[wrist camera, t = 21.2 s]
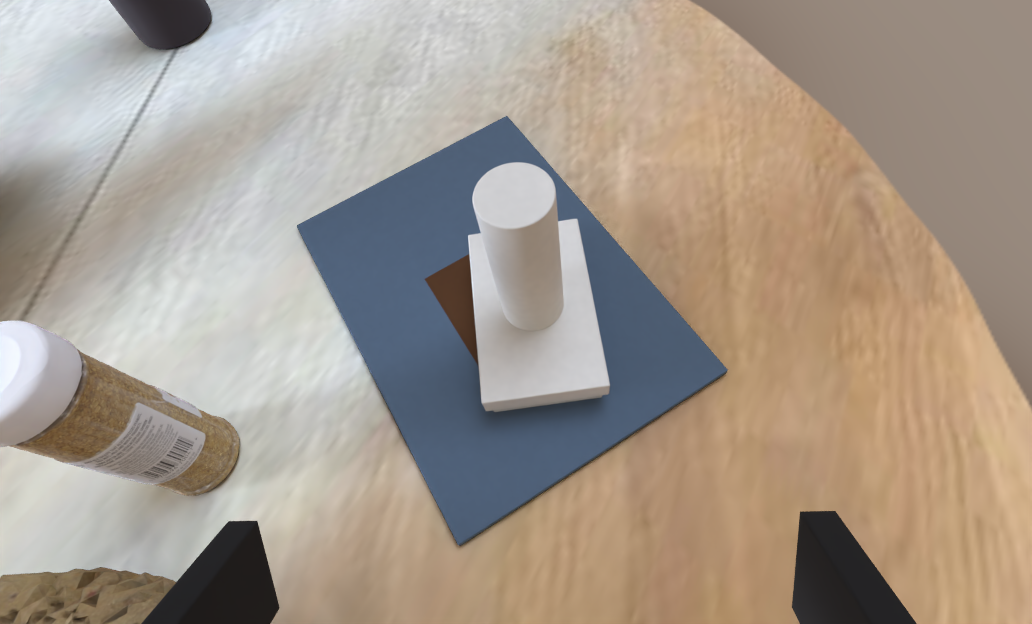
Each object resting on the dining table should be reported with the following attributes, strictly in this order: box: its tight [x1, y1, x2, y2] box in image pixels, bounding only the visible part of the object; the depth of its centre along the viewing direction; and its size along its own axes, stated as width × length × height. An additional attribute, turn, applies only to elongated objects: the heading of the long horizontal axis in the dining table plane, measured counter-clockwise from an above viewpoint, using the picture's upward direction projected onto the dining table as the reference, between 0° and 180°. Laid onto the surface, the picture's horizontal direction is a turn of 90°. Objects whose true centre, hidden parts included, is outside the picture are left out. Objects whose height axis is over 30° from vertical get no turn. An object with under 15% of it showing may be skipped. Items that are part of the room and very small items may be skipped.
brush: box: [468, 162, 610, 412], centre depth 28 cm, size 7×11×12 cm, turn 6°
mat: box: [297, 116, 728, 546], centre depth 35 cm, size 24×17×1 cm
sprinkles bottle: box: [0, 321, 239, 496], centre depth 26 cm, size 5×5×13 cm
